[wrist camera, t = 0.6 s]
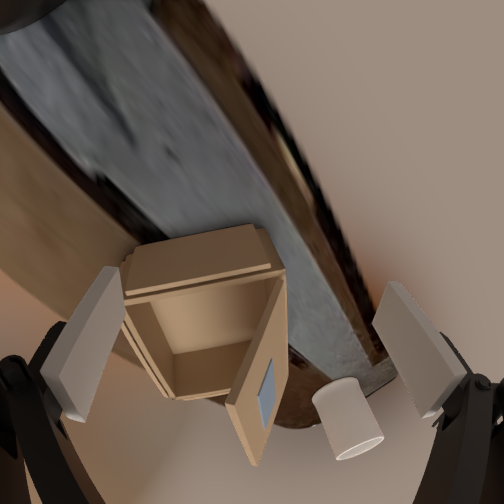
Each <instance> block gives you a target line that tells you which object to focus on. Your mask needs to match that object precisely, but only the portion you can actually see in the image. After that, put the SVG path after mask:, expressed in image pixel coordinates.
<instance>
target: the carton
mask: <svg viewBox="0 0 504 504" xmlns="http://www.w3.org/2000/svg"><path fill="white" fill-rule="evenodd" d="M119 272H120V279H121V286H122V292H123V299H124V304H125V310H126V316H125V318H124V321H123V323H122V325H121V329H122V330H123V332H124V334H125V336H126V337H127V339H128V341H129V343H130V344H131V346H132V348H133V349H134V351H135V353H136V354H137V356H138V357H139V359H140V361H141V362H142V364H143V365H144V367H145V369H146V370H147V372H148V373H149V374H150V376H151V378H152V379H153V381H154V382H155V384H156V385H157V387H158V388H159V389H160V391H161V393H162V394H163V396H164V397H169V395H170V397H171V398H172V400H176V399H183V400H184V401H185V400H192V399H199V398H206V397H212V396H217V395H223V394H228V393H229V392H230V390H231V387H232V385H233V383H234V381H235V378H236V376H237V374H238V371H239V369H240V367H241V365H242V362H243V360H244V358H245V355H246V353H247V351H248V348H249V346H250V344H251V341H252V339H253V337H254V334H255V332H256V329H257V327H258V325H259V322H260V320H261V317H262V315H263V313H264V310H265V308H266V305H267V303H268V300H269V298H270V296H271V293H272V291H273V288H274V286H275V283H276V281H277V279H278V280H284V287H285V316H286V354H287V378H288V330H287V293H286V268H285V266H284V264H283V262H282V260H281V259H280V257H279V255H278V253H277V251H276V249H275V247H274V245H273V243H272V241H271V239H270V237H269V235H268V233H267V231H266V229H265V228H259V229H255V228H254V225H253V223H252V224H247V225H241V226H236V227H231V228H225V229H220V230H215V231H210V232H205V233H200V234H195V235H190V236H185V237H180V238H175V239H170V240H165V241H160V242H156V243H151V244H146V245H141V246H137V247H135V249H134V253H133V254H129V255H127V256H126V260H125V261H123V262H122V263H121V266H120V270H119Z"/></svg>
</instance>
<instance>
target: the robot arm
mask: <svg viewBox="0 0 504 504" xmlns="http://www.w3.org/2000/svg"><path fill="white" fill-rule="evenodd" d="M64 1H65V0H0V35H1V34H6V33H10V32H13V31H16V30H19V29H21V28H23V27H25V26H27V25H29V24H31V23H33V22H35V21H37V20H38V19H40V18H42V17H43V16H45V15H46V14H48V13H49V12H51V11H52V10H53V9H55V8H56V7H58V6H59V5H60V4H61V3H63V2H64ZM125 316H126V310H125V304H124V299H123V292H122V286H121V279H120V272H119V267H108V266H104V267H103V269H102V270H101V272H100V273H99V275H98V276H97V277H96V279H95V280H94V282H93V283H92V285H91V286H90V288H89V289H88V291H87V292H86V294H85V295H84V297H83V298H82V300H81V301H80V303H79V305H78V306H77V308H76V309H75V311H74V312H73V314H72V316H71V317H70V319H69V321H68V322H62V321H59V322H57V323H56V324H55V325H54V326H52V327H51V328H50V329H49V331H48V332H47V334H46V336H45V339H43V341H42V342H41V344H40V346H39V347H38V349H37V351H36V352H35V354H34V356H33V358H32V359H31V361H30V363H29V364H28V365H27V364H26V362H25V360H24V359H23V358H22V357H21V356H18V355H10V356H7V357H5V358H3V359H2V360H1V361H0V504H31V500H30V495H29V490H28V485H27V479H26V473H25V466H24V459H25V463H26V465H27V468H28V471H29V473H30V476H31V478H32V481H33V483H34V486H35V488H36V490H37V492H38V495H39V497H40V499H41V501H42V503H43V504H106V503H105V502H104V500H103V499H102V497H101V495H100V494H99V492H98V491H97V489H96V487H95V486H94V484H93V482H92V481H91V479H90V477H89V475H88V473H87V472H86V470H85V468H84V466H83V464H82V462H81V460H80V459H79V457H78V455H77V453H76V451H75V449H74V446H73V444H72V442H71V440H70V438H69V436H68V434H67V431H66V429H65V427H64V425H63V422H62V420H61V419H60V416H61V413H62V410H63V411H64V413H65V414H66V416H67V418H69V419H72V420H76V421H80V422H83V423H85V422H86V419H87V416H88V413H89V410H90V407H91V404H92V401H93V398H94V395H95V392H96V390H97V387H98V384H99V381H100V379H101V376H102V373H103V371H104V368H105V365H106V363H107V360H108V357H109V355H110V352H111V350H112V347H113V345H114V342H115V340H116V337H117V335H118V333H119V330H120V328H121V325H122V323H123V321H124V318H125ZM372 324H373V326H374V328H375V330H376V332H377V333H378V335H379V337H380V339H381V341H382V342H383V344H384V346H385V348H386V350H387V352H388V353H389V355H390V357H391V359H392V361H393V363H394V365H395V367H396V368H397V370H398V372H399V374H400V376H401V378H402V380H403V382H404V384H405V386H406V388H407V390H408V392H409V394H410V396H411V398H412V400H413V402H414V404H415V406H416V408H417V410H418V412H419V414H420V416H421V418H426V417H429V416H432V415H434V414H435V413H436V412H437V411H438V410H439V409H440V407H441V406H442V408H443V410H444V412H443V413H442V414H441V415H440V417H439V418H438V419H437V420H436V421H435V422H434V423H433V425H432V427H434V426H435V425H436V424H437V423H438V422H439V424H438V427H437V432H436V437H435V440H434V444H433V447H432V450H431V454H430V457H429V461H428V463H427V467H426V469H425V472H424V475H423V478H422V481H421V484H420V486H419V489H418V491H417V494H416V496H415V499H414V501H413V504H504V378H503V379H502V380H501V382H500V383H491V382H490V380H489V379H488V378H487V377H486V376H484V375H482V374H474V373H473V372H472V371H471V369H470V368H469V366H468V365H467V363H466V362H465V360H464V359H463V358H462V356H461V355H460V353H458V351H457V349H456V348H455V347H454V345H453V344H452V342H451V341H450V340H449V338H448V337H446V336H445V335H444V334H443V333H441V332H439V331H438V330H437V329H436V327H435V326H434V325H433V324H432V322H431V321H430V320H429V318H428V317H427V316H426V314H425V313H424V312H423V310H422V309H421V308H420V306H419V305H418V304H417V303H416V301H415V300H414V299H413V298H412V296H411V295H410V294H409V293H408V292H407V290H406V289H405V288H404V287H403V285H402V284H401V283H400V282H391V281H389V282H387V285H386V288H385V291H384V293H383V296H382V299H381V301H380V304H379V307H378V309H377V312H376V314H375V317H374V319H373V322H372ZM501 416H503V421H502V422H501V423H500V424H499V425H498V424H497V420H498V419H499V418H500V417H501Z"/></svg>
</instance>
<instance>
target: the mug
mask: <svg viewBox="0 0 504 504" xmlns="http://www.w3.org/2000/svg"><path fill="white" fill-rule="evenodd" d="M312 402H313V404H314V405H315V407H316V409H317V411H318V414H319V416H320V419H321V421H322V424H323V427H324V429H325V432H326V434H327V437H328V439H329V442H330V445H331V447H332V449H333V452H334V455H335V458H336V459H337V460H343V459H348V458H351V457H353V456H356V455H359V454H361V453H363V452H365V451H367V450H369V449H371V448H372V447H374V446H376V445H377V444H379V443H380V442H381V441H382V440H383V439H384V436H383V434H382V432H381V430H380V427H379V425H378V423H377V421H376V419H375V417H374V415H373V413H372V411H371V409H370V407H369V405H368V403H367V401H366V399H365V397H364V395H363V393H362V391H361V388H360V386H359V382H358V380H357V379H356V378H354V377H345V378H341V379H338V380H335V381H332V382H330V383H328V384H326V385H325V386H323V387H322V388H320V389H319V390H318V391H317V392H316V393H315V394H314V395H313V397H312Z"/></svg>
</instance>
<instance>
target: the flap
mask: <svg viewBox="0 0 504 504" xmlns="http://www.w3.org/2000/svg"><path fill="white" fill-rule="evenodd" d="M286 382H287V354H286V316H285V287H284V280H278V279H277V281H276V283H275V286H274V288H273V291H272V293H271V296H270V298H269V300H268V303H267V305H266V308H265V310H264V313H263V315H262V317H261V320H260V322H259V325H258V327H257V329H256V332H255V334H254V337H253V339H252V341H251V344H250V346H249V348H248V351H247V353H246V355H245V358H244V360H243V362H242V365H241V367H240V369H239V371H238V374H237V376H236V378H235V381H234V383H233V385H232V387H231V390H230V392H229V394H228V396H227V399H226V401H225V405H226V408H227V410H228V413H229V415H230V417H231V420H232V422H233V424H234V427H235V429H236V431H237V434H238V436H239V438H240V440H241V443H242V445H243V447H244V449H245V451H246V454H247V456H248V458H249V460H250V462H251V464H252V465H253V466H258V464H259V461H260V458H261V456H262V453H263V450H264V448H265V445H266V442H267V439H268V436H269V433H270V431H271V428H272V425H273V422H274V419H275V416H276V413H277V410H278V407H279V404H280V401H281V398H282V395H283V391H284V388H285V385H286Z"/></svg>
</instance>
